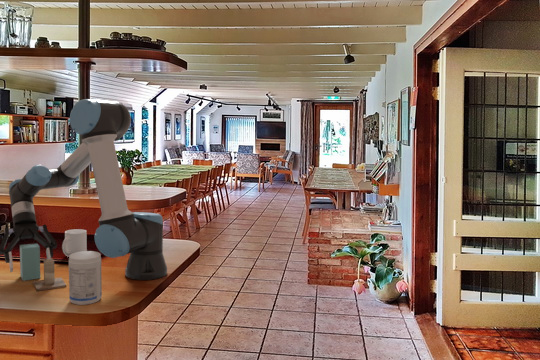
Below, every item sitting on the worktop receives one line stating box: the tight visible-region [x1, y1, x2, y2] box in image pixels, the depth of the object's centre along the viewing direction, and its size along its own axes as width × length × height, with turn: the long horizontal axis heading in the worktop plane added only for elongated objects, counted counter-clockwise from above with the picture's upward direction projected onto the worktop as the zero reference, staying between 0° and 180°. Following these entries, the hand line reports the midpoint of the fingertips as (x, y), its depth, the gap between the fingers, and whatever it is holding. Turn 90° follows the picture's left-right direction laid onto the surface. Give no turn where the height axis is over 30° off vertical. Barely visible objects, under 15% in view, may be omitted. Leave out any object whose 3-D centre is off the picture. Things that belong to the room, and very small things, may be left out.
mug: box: [61, 228, 88, 258], centre depth 193 cm, size 12×8×10 cm
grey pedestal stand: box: [32, 258, 67, 292], centre depth 159 cm, size 9×9×9 cm
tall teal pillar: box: [19, 243, 41, 281], centre depth 166 cm, size 6×6×11 cm
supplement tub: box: [68, 250, 103, 306], centre depth 146 cm, size 10×10×15 cm
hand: (31, 267), depth 164 cm, fingers open, 11 cm apart
